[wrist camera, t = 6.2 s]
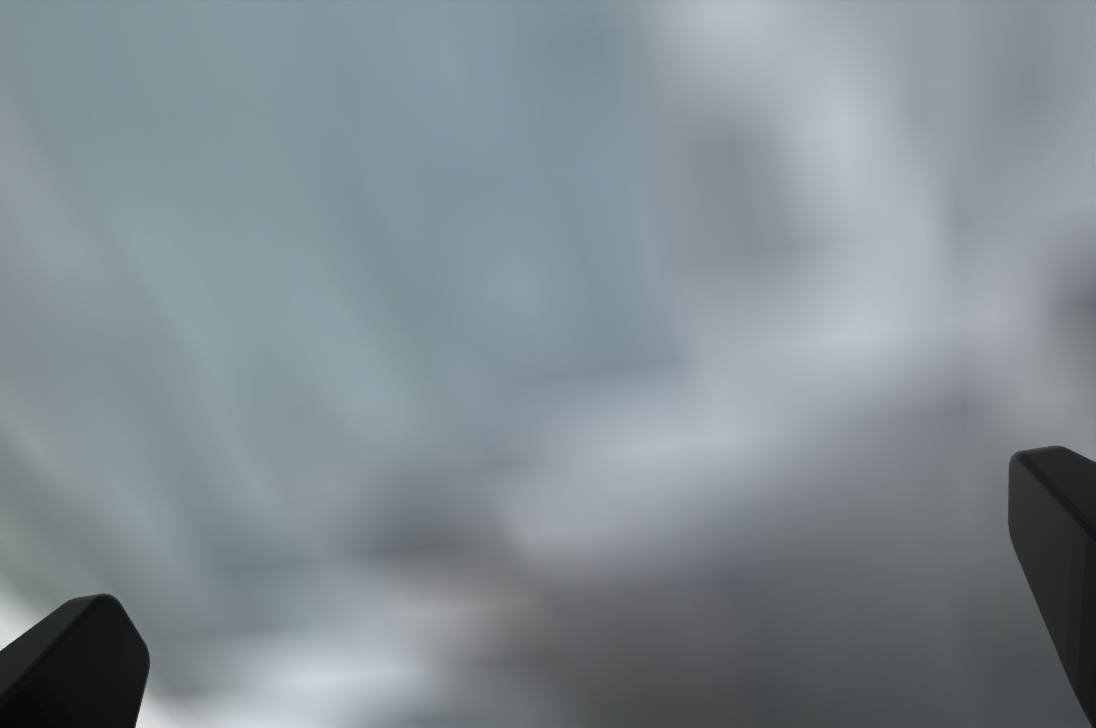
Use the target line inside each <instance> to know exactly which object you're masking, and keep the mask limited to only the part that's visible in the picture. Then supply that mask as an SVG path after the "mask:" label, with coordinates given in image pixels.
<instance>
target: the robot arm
mask: <svg viewBox="0 0 1096 728" xmlns="http://www.w3.org/2000/svg"><path fill="white" fill-rule="evenodd" d="M1008 525H1009V532H1010V537H1011V540H1012V544H1013V547H1014V549H1015V552H1016V554H1017V557H1018V559H1019V562H1020V564H1021V566H1022V569H1023V571H1024V574H1025V576H1026V578H1027V581H1028V583H1029V586H1030V588H1031V590H1032V593H1033V595H1034V598H1035V600H1036V603H1037V605H1038V607H1039V610H1040V612H1041V615H1042V617H1043V619H1044V622H1045V624H1046V627H1047V629H1048V631H1049V634H1050V636H1051V639H1052V641H1053V644H1054V646H1055V648H1056V651H1057V653H1058V656H1059V658H1060V660H1061V663H1062V665H1063V668H1064V670H1065V672H1066V675H1067V677H1068V679H1069V681H1070V684H1071V686H1072V688H1073V691H1074V693H1075V695H1076V697H1077V699H1078V701H1079V703H1080V705H1081V707H1082V709H1083V711H1084V712H1085V714H1086V716H1087V718H1088V720H1089V722H1090V724H1091V726H1092V727H1093V728H1096V462H1094V461H1092V460H1090V459H1088V458H1086V457H1084V456H1082V455H1080V454H1078V453H1076V452H1074V451H1072V450H1070V449H1068V448H1065V447H1062V446H1048V447H1042V448H1036V449H1029V450H1023V451H1018V452H1016V453H1015V454H1014V455H1013V456H1012V457H1011V460H1010V464H1009V501H1008ZM149 669H150V657H149V652H148V648H147V646H146V644H145V642H144V640H143V639H142V637H141V636H140V634H139V632H138V631H137V629H136V628H135V626H134V624H133V623H132V621H131V619H130V618H129V616H128V615H127V613H126V611H125V610H124V608H123V606H122V605H121V603H120V602H119V601H118V599H116V598H115V597H113V596H112V595H110V594H97V595H91V596H84V597H78V598H74V599H71V600H69V601H67V602H66V603H64V604H63V605H62V606H60V607H59V608H58V609H56V610H55V611H53V612H52V613H51V614H49V615H48V616H47V617H45V618H44V619H43V620H41V621H40V622H39V623H37V624H36V625H35V626H33V627H32V628H31V629H29V630H28V631H27V632H25V633H24V634H22V635H21V636H20V637H18V638H17V639H16V640H14V641H13V642H12V643H10V644H9V645H8V646H6V647H5V648H4V649H2V650H1V651H0V728H135V727H136V722H137V718H138V714H139V710H140V706H141V702H142V698H143V694H144V690H145V686H146V682H147V678H148V674H149Z"/></svg>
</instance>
